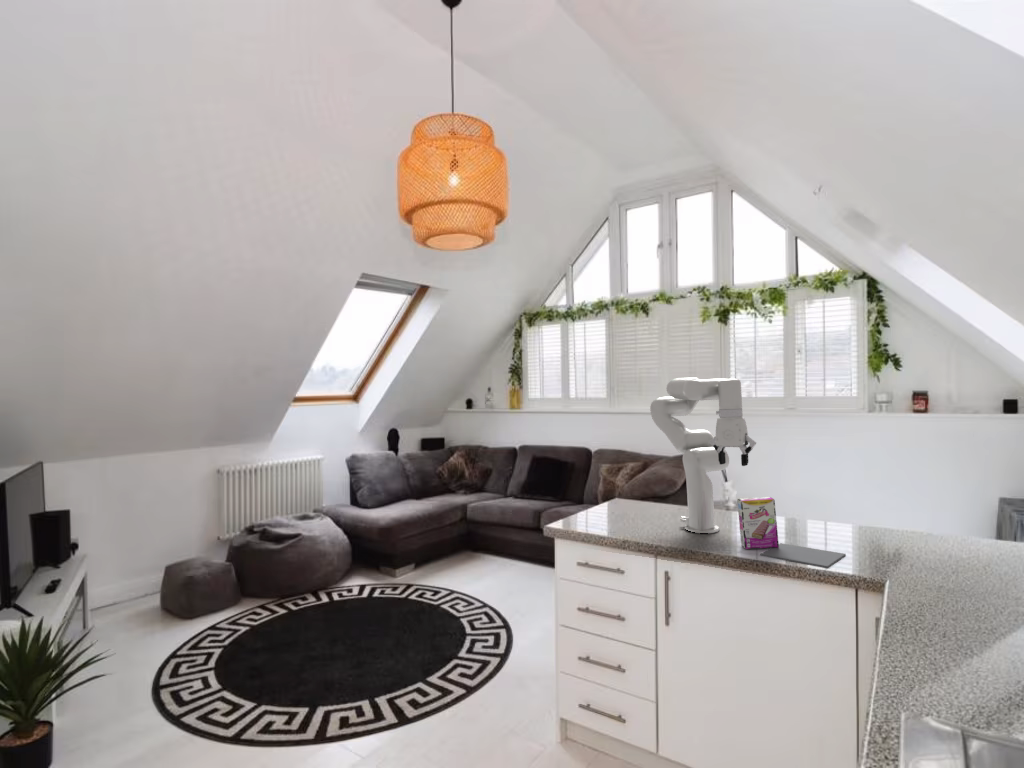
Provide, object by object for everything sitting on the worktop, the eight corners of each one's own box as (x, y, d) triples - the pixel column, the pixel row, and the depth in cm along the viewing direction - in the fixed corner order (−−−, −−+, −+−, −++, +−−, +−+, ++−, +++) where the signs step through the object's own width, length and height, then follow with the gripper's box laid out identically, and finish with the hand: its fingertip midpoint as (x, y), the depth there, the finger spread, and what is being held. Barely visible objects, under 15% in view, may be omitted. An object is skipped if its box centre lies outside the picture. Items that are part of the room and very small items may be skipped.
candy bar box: (745, 549, 188) (740, 500, 189) (741, 546, 193) (736, 498, 194) (780, 547, 187) (774, 498, 188) (774, 544, 192) (769, 496, 193)
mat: (760, 555, 182) (760, 553, 182) (780, 544, 193) (780, 543, 193) (827, 567, 167) (827, 566, 167) (845, 555, 178) (845, 553, 178)
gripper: (702, 414, 200) (704, 464, 200) (750, 414, 187) (753, 467, 187) (712, 413, 205) (715, 461, 205) (760, 413, 192) (763, 465, 192)
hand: (733, 464), depth 196 cm, fingers open, 7 cm apart
